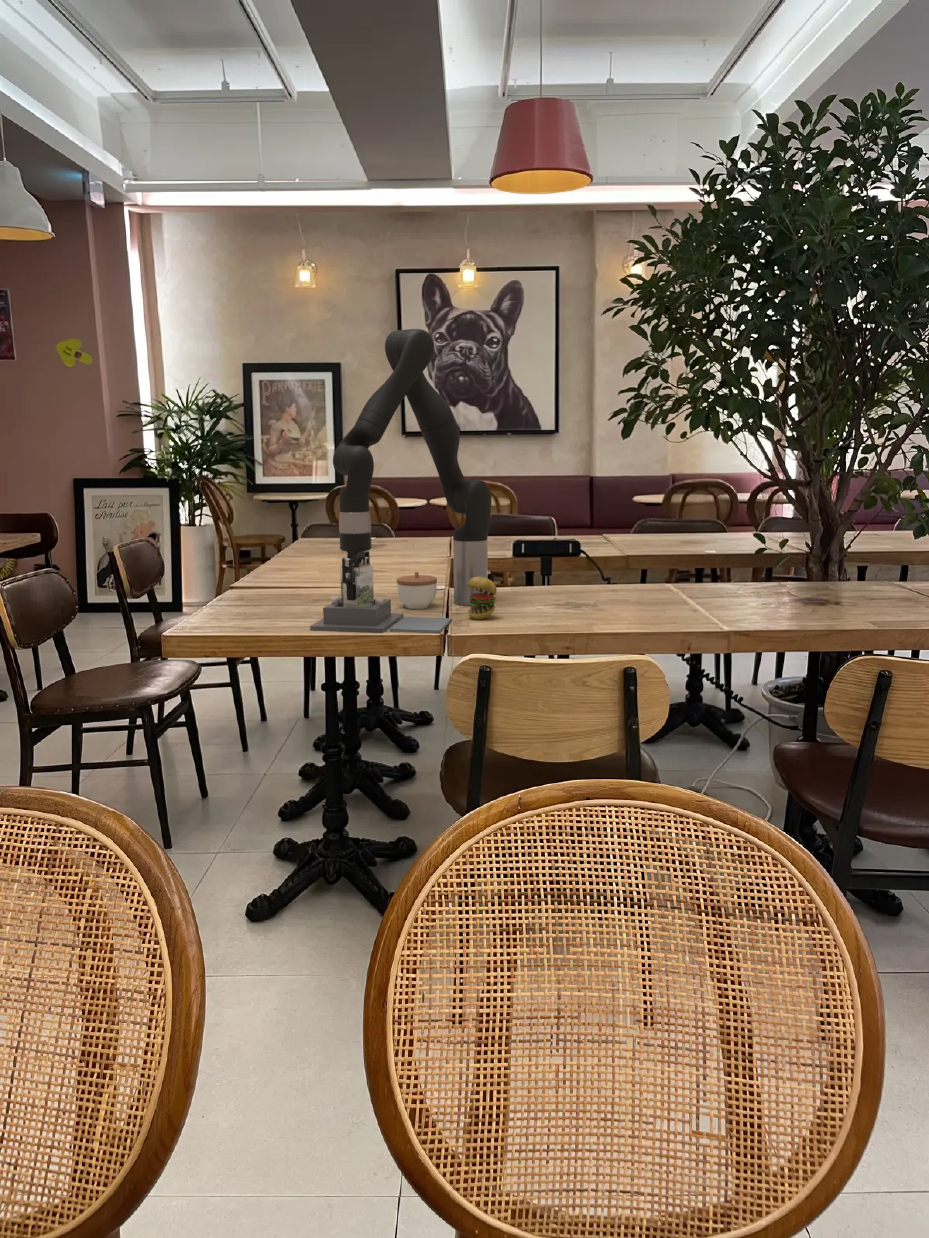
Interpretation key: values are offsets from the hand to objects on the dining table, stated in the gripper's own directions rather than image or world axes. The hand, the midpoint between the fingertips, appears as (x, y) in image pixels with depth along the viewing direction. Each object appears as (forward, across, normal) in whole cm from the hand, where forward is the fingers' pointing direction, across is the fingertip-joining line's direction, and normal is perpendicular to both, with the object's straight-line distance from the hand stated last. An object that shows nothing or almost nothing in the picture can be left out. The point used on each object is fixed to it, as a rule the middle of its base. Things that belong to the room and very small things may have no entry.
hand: (357, 597), depth 219 cm
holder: (+7, 0, 0) cm, 7 cm away
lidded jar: (+7, +23, -9) cm, 26 cm away
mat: (+7, 0, -16) cm, 17 cm away
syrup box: (+7, 0, 0) cm, 7 cm away
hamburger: (+7, +11, -29) cm, 32 cm away
